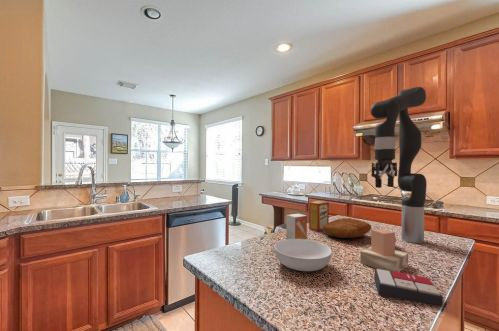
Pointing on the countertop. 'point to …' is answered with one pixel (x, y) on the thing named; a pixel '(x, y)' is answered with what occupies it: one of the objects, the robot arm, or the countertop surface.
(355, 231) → the clay tablet
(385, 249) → the terracotta block
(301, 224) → the small box
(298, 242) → the serving bowl
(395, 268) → the birch block
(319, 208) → the baking soda box
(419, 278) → the grey and red box
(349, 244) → the countertop surface
